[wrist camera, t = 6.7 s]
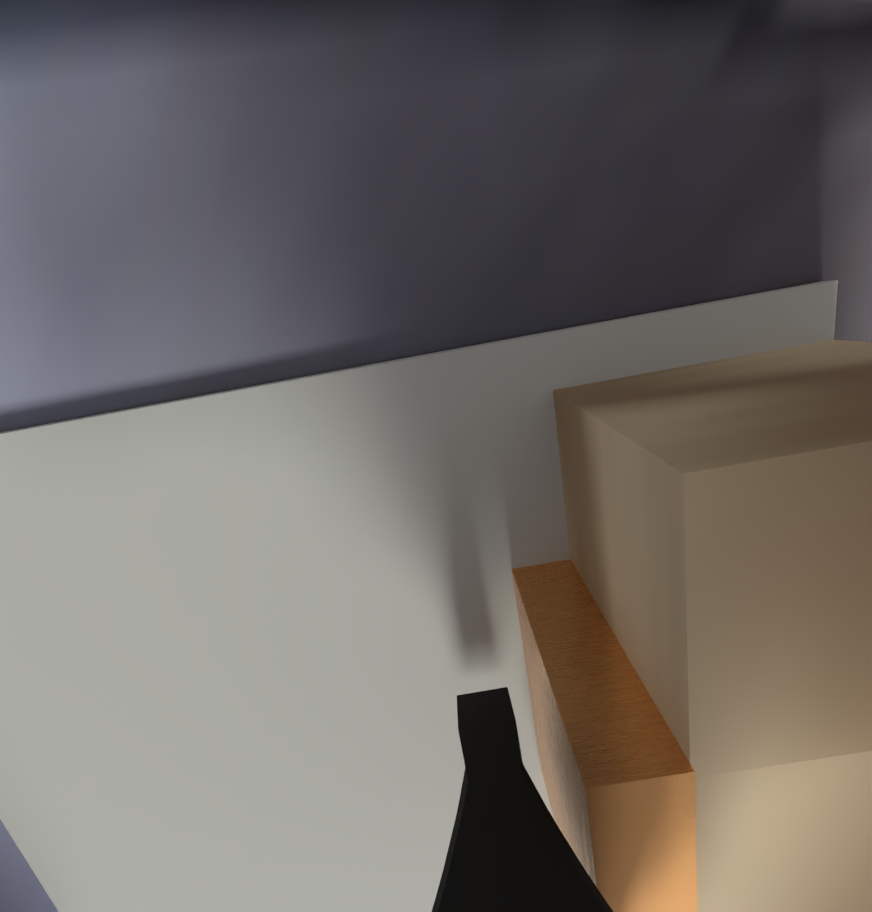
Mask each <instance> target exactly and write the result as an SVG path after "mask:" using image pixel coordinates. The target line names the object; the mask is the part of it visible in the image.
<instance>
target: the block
mask: <svg viewBox="0 0 872 912" xmlns="http://www.w3.org/2000/svg"><path fill="white" fill-rule="evenodd" d="M553 396H554V406H555V415H556V425H557V434H558V444H559V454H560V463H561V473H562V482H563V492H564V501H565V511H566V521H567V530H568V540H569V549H570V559H571V561H572V562H573V564H574V566H575V568H576V569H577V571H578V573H579V574H580V576H581V578H582V580H583V581H584V583H585V585H586V586H587V588H588V590H589V592H590V593H591V595H592V597H593V598H594V600H595V602H596V604H597V605H598V607H599V609H600V610H601V612H602V614H603V615H604V617H605V619H606V621H607V622H608V624H609V626H610V627H611V629H612V631H613V633H614V634H615V636H616V638H617V639H618V641H619V643H620V645H621V646H622V648H623V650H624V651H625V653H626V655H627V657H628V658H629V660H630V662H631V663H632V665H633V667H634V668H635V670H636V672H637V674H638V675H639V677H640V679H641V680H642V682H643V684H644V686H645V687H646V689H647V691H648V692H649V694H650V696H651V698H652V699H653V701H654V703H655V704H656V706H657V708H658V710H659V711H660V713H661V715H662V716H663V718H664V720H665V722H666V723H667V725H668V727H669V728H670V730H671V732H672V733H673V735H674V737H675V739H676V740H677V742H678V744H679V745H680V747H681V749H682V751H683V752H684V754H685V756H686V757H687V759H688V761H689V763H690V764H691V766H692V768H693V769H694V771H695V804H696V857H697V909H698V912H872V342H861V341H848V340H835V339H833V340H828V341H822V342H817V343H811V344H806V345H800V346H794V347H789V348H783V349H778V350H772V351H767V352H761V353H756V354H750V355H745V356H739V357H733V358H728V359H722V360H717V361H711V362H706V363H700V364H695V365H689V366H684V367H678V368H672V369H667V370H661V371H656V372H650V373H645V374H639V375H634V376H628V377H623V378H617V379H612V380H606V381H600V382H595V383H589V384H584V385H578V386H573V387H567V388H562V389H556V390H553Z"/></svg>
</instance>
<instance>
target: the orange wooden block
mask: <svg viewBox="0 0 872 912" xmlns="http://www.w3.org/2000/svg"><path fill="white" fill-rule="evenodd" d="M512 576H513V583H514V589H515V596H516V603H517V610H518V616H519V623H520V630H521V637H522V643H523V650H524V657H525V664H526V670H527V677H528V684H529V691H530V698H531V704H532V711H533V718H534V725H535V731H536V738H537V745H538V752H539V758H540V765H541V770H542V774H543V778H544V782H545V786H546V790H547V794H548V798H549V802H550V805H551V809H552V813H553V817H554V820H555V822H556V824H557V826H558V827H559V829H560V830H561V832H562V834H563V835H564V837H565V838H566V840H567V842H568V843H569V845H570V847H571V848H572V850H573V851H574V853H575V855H576V856H577V858H578V859H579V861H580V862H581V864H582V866H583V867H584V869H585V870H586V872H587V873H588V875H589V876H590V878H591V879H592V881H593V882H594V884H595V885H596V887H597V888H598V890H599V891H600V893H601V894H602V896H603V897H604V899H605V900H606V902H607V903H608V904H609V906H610V907H611V909H612V910H613V912H698V909H697V857H696V804H695V771H694V769H693V768H692V766H691V764H690V763H689V761H688V759H687V757H686V756H685V754H684V752H683V751H682V749H681V747H680V745H679V744H678V742H677V740H676V739H675V737H674V735H673V733H672V732H671V730H670V728H669V727H668V725H667V723H666V722H665V720H664V718H663V716H662V715H661V713H660V711H659V710H658V708H657V706H656V704H655V703H654V701H653V699H652V698H651V696H650V694H649V692H648V691H647V689H646V687H645V686H644V684H643V682H642V680H641V679H640V677H639V675H638V674H637V672H636V670H635V668H634V667H633V665H632V663H631V662H630V660H629V658H628V657H627V655H626V653H625V651H624V650H623V648H622V646H621V645H620V643H619V641H618V639H617V638H616V636H615V634H614V633H613V631H612V629H611V627H610V626H609V624H608V622H607V621H606V619H605V617H604V615H603V614H602V612H601V610H600V609H599V607H598V605H597V604H596V602H595V600H594V598H593V597H592V595H591V593H590V592H589V590H588V588H587V586H586V585H585V583H584V581H583V580H582V578H581V576H580V574H579V573H578V571H577V569H576V568H575V566H574V564H573V562H572V561H571V559H568V560H562V561H556V562H550V563H544V564H538V565H532V566H527V567H521V568H515V569H512Z"/></svg>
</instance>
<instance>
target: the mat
mask: <svg viewBox="0 0 872 912" xmlns="http://www.w3.org/2000/svg"><path fill="white" fill-rule="evenodd" d="M837 288H838V280H830V281H821V282H815V283H810V284H804V285H799V286H794V287H788V288H783V289H777V290H772V291H766V292H761V293H755V294H750V295H745V296H739V297H734V298H728V299H723V300H717V301H712V302H707V303H701V304H696V305H690V306H685V307H679V308H674V309H669V310H663V311H658V312H652V313H647V314H641V315H636V316H630V317H625V318H620V319H614V320H609V321H603V322H598V323H592V324H587V325H582V326H576V327H571V328H565V329H560V330H554V331H549V332H544V333H538V334H533V335H527V336H522V337H516V338H511V339H505V340H500V341H495V342H489V343H484V344H478V345H473V346H467V347H462V348H457V349H451V350H446V351H440V352H435V353H429V354H424V355H419V356H413V357H408V358H402V359H397V360H391V361H386V362H380V363H375V364H370V365H364V366H359V367H353V368H348V369H342V370H337V371H332V372H326V373H321V374H315V375H310V376H304V377H299V378H294V379H288V380H283V381H277V382H272V383H266V384H261V385H255V386H250V387H245V388H239V389H234V390H228V391H223V392H217V393H212V394H207V395H201V396H196V397H190V398H185V399H179V400H174V401H169V402H163V403H158V404H152V405H147V406H141V407H136V408H130V409H125V410H120V411H114V412H109V413H103V414H98V415H92V416H87V417H82V418H76V419H71V420H65V421H60V422H54V423H49V424H44V425H38V426H33V427H27V428H22V429H16V430H11V431H5V432H0V819H1V821H2V823H3V824H4V826H5V827H6V829H7V831H8V832H9V834H10V835H11V837H12V839H13V840H14V842H15V843H16V845H17V846H18V848H19V850H20V851H21V853H22V854H23V856H24V858H25V859H26V861H27V862H28V864H29V866H30V867H31V869H32V870H33V872H34V873H35V875H36V877H37V878H38V880H39V881H40V883H41V885H42V886H43V888H44V889H45V891H46V893H47V894H48V896H49V897H50V899H51V900H52V902H53V904H54V905H55V907H56V908H57V910H58V912H432V909H433V905H434V902H435V898H436V894H437V891H438V887H439V884H440V880H441V876H442V873H443V869H444V864H445V860H446V856H447V852H448V848H449V844H450V840H451V835H452V831H453V827H454V823H455V819H456V814H457V809H458V804H459V799H460V794H461V788H462V783H463V777H464V772H465V763H464V758H463V752H462V747H461V742H460V737H459V731H458V716H457V695H462V694H468V693H474V692H480V691H486V690H492V689H498V688H504V687H508V691H509V695H510V699H511V703H512V707H513V711H514V715H515V719H516V725H517V731H518V737H519V743H520V749H521V755H522V761H523V765H524V767H525V768H526V770H527V772H528V774H529V776H530V778H531V780H532V781H533V783H534V785H535V787H536V789H537V790H538V792H539V794H540V796H541V798H542V800H543V801H544V803H545V805H546V807H547V808H548V810H549V812H550V814H551V815H552V817H553V813H552V809H551V805H550V802H549V798H548V794H547V790H546V786H545V782H544V778H543V774H542V770H541V765H540V758H539V752H538V745H537V738H536V731H535V725H534V718H533V711H532V704H531V698H530V691H529V684H528V677H527V670H526V664H525V657H524V650H523V643H522V637H521V630H520V623H519V616H518V610H517V603H516V596H515V589H514V583H513V576H512V569H515V568H521V567H527V566H532V565H538V564H544V563H550V562H556V561H562V560H568V559H570V549H569V540H568V530H567V521H566V511H565V501H564V492H563V482H562V473H561V463H560V454H559V444H558V434H557V425H556V415H555V406H554V396H553V390H556V389H562V388H567V387H573V386H578V385H584V384H589V383H595V382H600V381H606V380H612V379H617V378H623V377H628V376H634V375H639V374H645V373H650V372H656V371H661V370H667V369H672V368H678V367H684V366H689V365H695V364H700V363H706V362H711V361H717V360H722V359H728V358H733V357H739V356H745V355H750V354H756V353H761V352H767V351H772V350H778V349H783V348H789V347H794V346H800V345H806V344H811V343H817V342H822V341H828V340H833V339H834V330H835V316H836V302H837ZM553 819H554V817H553Z"/></svg>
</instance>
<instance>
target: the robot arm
mask: <svg viewBox="0 0 872 912" xmlns="http://www.w3.org/2000/svg"><path fill="white" fill-rule="evenodd" d="M457 716H458V731H459V737H460V742H461V747H462V752H463V758H464V763H465V772H464V777H463V783H462V788H461V794H460V799H459V804H458V809H457V814H456V819H455V823H454V827H453V831H452V835H451V840H450V844H449V848H448V852H447V856H446V860H445V864H444V869H443V873H442V876H441V880H440V884H439V887H438V891H437V894H436V898H435V902H434V905H433V909H432V912H613V910H612V909H611V907H610V906H609V904H608V903H607V902H606V900H605V899H604V897H603V896H602V894H601V893H600V891H599V890H598V888H597V887H596V885H595V884H594V882H593V881H592V879H591V878H590V876H589V875H588V873H587V872H586V870H585V869H584V867H583V866H582V864H581V862H580V861H579V859H578V858H577V856H576V855H575V853H574V851H573V850H572V848H571V847H570V845H569V843H568V842H567V840H566V838H565V837H564V835H563V834H562V832H561V830H560V829H559V827H558V826H557V824H556V822H555V820H554V819H553V817H552V815H551V814H550V812H549V810H548V808H547V807H546V805H545V803H544V801H543V800H542V798H541V796H540V794H539V792H538V790H537V789H536V787H535V785H534V783H533V781H532V780H531V778H530V776H529V774H528V772H527V770H526V768H525V767H524V765H523V761H522V755H521V749H520V743H519V737H518V731H517V725H516V719H515V715H514V711H513V707H512V703H511V699H510V695H509V691H508V687H504V688H498V689H492V690H486V691H480V692H474V693H468V694H462V695H457Z"/></svg>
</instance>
